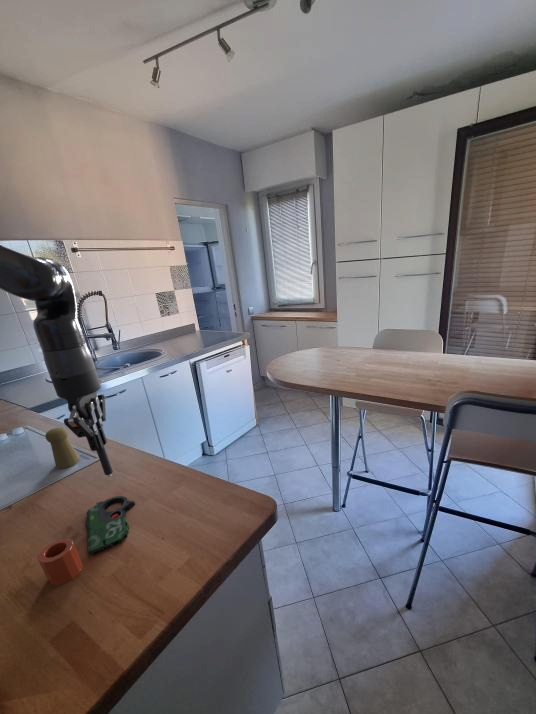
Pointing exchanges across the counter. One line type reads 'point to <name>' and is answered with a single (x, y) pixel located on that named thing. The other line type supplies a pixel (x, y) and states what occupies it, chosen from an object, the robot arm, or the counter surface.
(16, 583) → the counter surface
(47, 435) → the cork
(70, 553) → the pen cup
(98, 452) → the dark gray rod
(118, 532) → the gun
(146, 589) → the counter surface
